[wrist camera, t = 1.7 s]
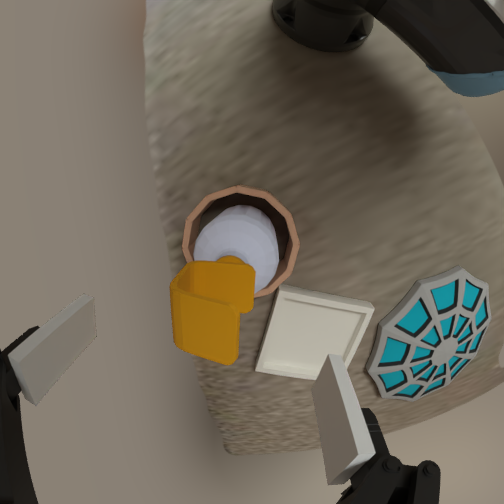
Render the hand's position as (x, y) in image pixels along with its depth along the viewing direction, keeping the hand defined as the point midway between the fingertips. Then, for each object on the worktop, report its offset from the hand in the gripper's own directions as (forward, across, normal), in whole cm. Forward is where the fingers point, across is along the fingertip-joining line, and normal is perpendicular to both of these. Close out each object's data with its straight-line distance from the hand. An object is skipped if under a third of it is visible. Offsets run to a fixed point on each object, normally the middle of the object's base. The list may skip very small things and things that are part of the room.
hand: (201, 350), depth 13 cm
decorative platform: (+26, +40, -11) cm, 49 cm away
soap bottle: (+26, 0, 0) cm, 26 cm away
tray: (+26, +14, -13) cm, 32 cm away
